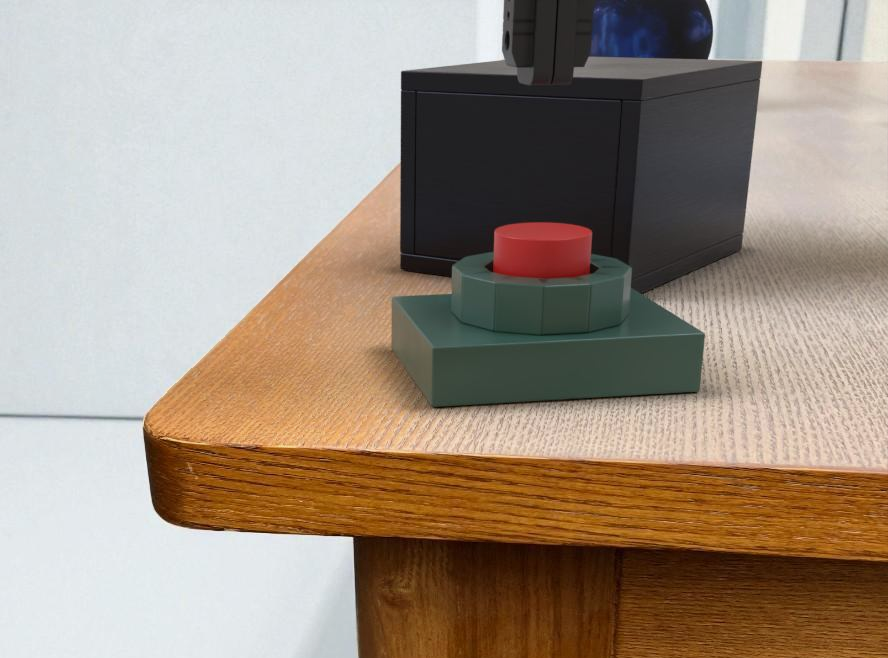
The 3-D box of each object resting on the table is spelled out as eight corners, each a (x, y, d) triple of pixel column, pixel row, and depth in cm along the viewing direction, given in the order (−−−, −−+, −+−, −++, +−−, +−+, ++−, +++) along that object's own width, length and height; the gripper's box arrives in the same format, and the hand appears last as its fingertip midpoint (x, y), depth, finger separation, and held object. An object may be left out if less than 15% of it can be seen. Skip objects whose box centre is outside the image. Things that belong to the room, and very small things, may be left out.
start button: (572, 265, 50) (574, 220, 49) (602, 285, 47) (605, 237, 46) (482, 270, 50) (484, 224, 49) (506, 290, 46) (508, 241, 46)
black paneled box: (537, 227, 78) (544, 55, 74) (741, 249, 71) (762, 60, 67) (399, 270, 67) (400, 70, 63) (625, 301, 60) (642, 79, 56)
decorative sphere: (561, 114, 141) (569, -35, 135) (579, 102, 154) (587, -34, 148) (702, 117, 137) (717, -37, 131) (708, 104, 150) (722, -36, 144)
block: (624, 337, 54) (631, 241, 52) (700, 392, 47) (711, 282, 45) (391, 349, 53) (391, 251, 51) (431, 407, 45) (433, 295, 44)
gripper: (733, -474, 43) (680, 75, 50) (343, -492, 41) (344, 79, 48) (844, -560, 36) (765, 89, 43) (382, -586, 34) (377, 95, 41)
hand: (543, 83), depth 46 cm, fingers closed
